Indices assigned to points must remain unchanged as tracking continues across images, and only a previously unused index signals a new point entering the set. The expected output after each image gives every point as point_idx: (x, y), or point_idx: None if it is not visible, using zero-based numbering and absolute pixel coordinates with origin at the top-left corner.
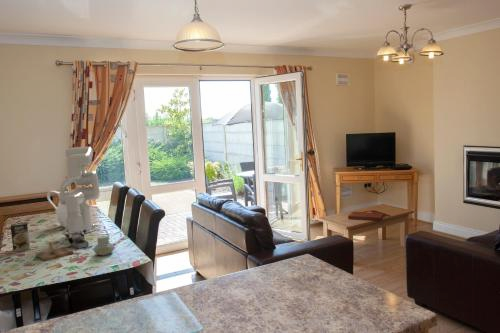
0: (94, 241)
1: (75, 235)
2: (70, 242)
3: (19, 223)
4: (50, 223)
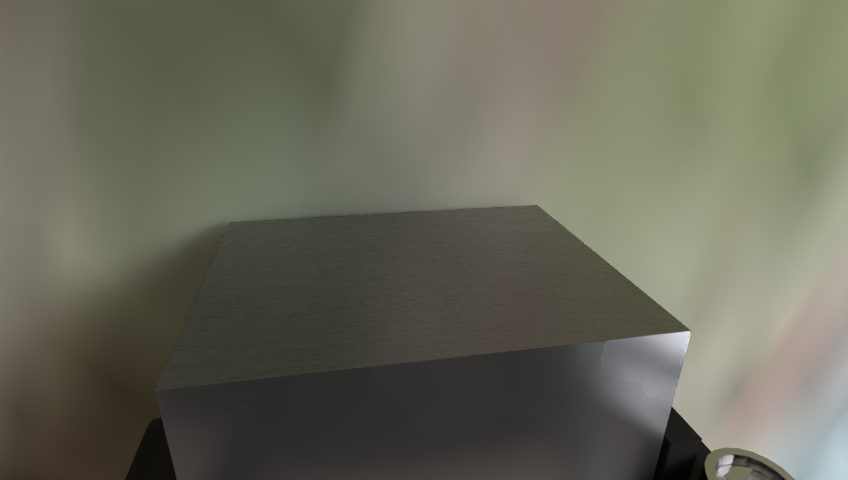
0: (716, 387)
1: (464, 463)
2: None
3: None
4: None
